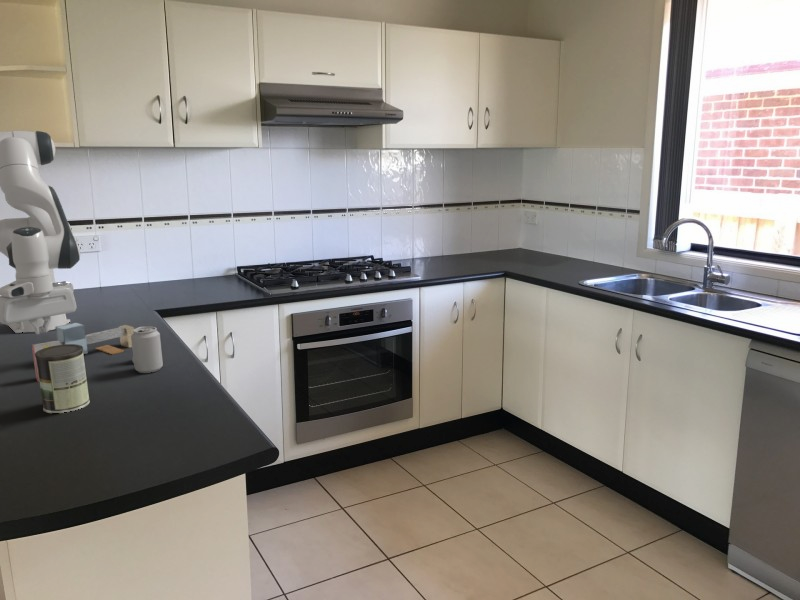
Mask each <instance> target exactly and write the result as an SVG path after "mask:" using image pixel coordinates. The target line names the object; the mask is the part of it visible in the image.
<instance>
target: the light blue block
mask: <svg viewBox="0 0 800 600" xmlns="http://www.w3.org/2000/svg"><path fill="white" fill-rule="evenodd" d="M55 328H56V329H55V334H56V341H62V342H64V344H76V345H81V346H83V355H84V354H88V344H87V343H86V335H87V334H86V330H85V329H86V328H85V324H82V323H79V322H72V323H71V322H70V323H67V324H66V325H61V326H57V327H55Z"/></svg>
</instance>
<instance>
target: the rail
mask: <svg viewBox="0 0 800 600" xmlns="http://www.w3.org/2000/svg"><path fill="white" fill-rule="evenodd" d="M134 329H135V327H134V326H131V325H128V324H123V325H119V326H118V327H114V328H110V329H105V330H102V331H97V332H92V333H88V334H85V335H86V343H87V345H91V344H94V343H99V342H103V341H104V342H105V341H108V340H112V339H117V338H119V343H120V346H122V347H126V348H132V341H131V335H132V334H133V333H134V332H133V330H134ZM54 341H55V340H51V341H49V342H54ZM47 342H48V341H46V342H45V343H47ZM60 345H64V342H62V341H60ZM95 350H98V351H100V352H103V353H106V354H108V353H109V354H108V355H111V354H112V355H116V354H120V353H123V352H125V350H124V349H123V348H122V349H121V348H118V347H116V346H112V345H109V344H105V345H101V346H98V347H95Z"/></svg>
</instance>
